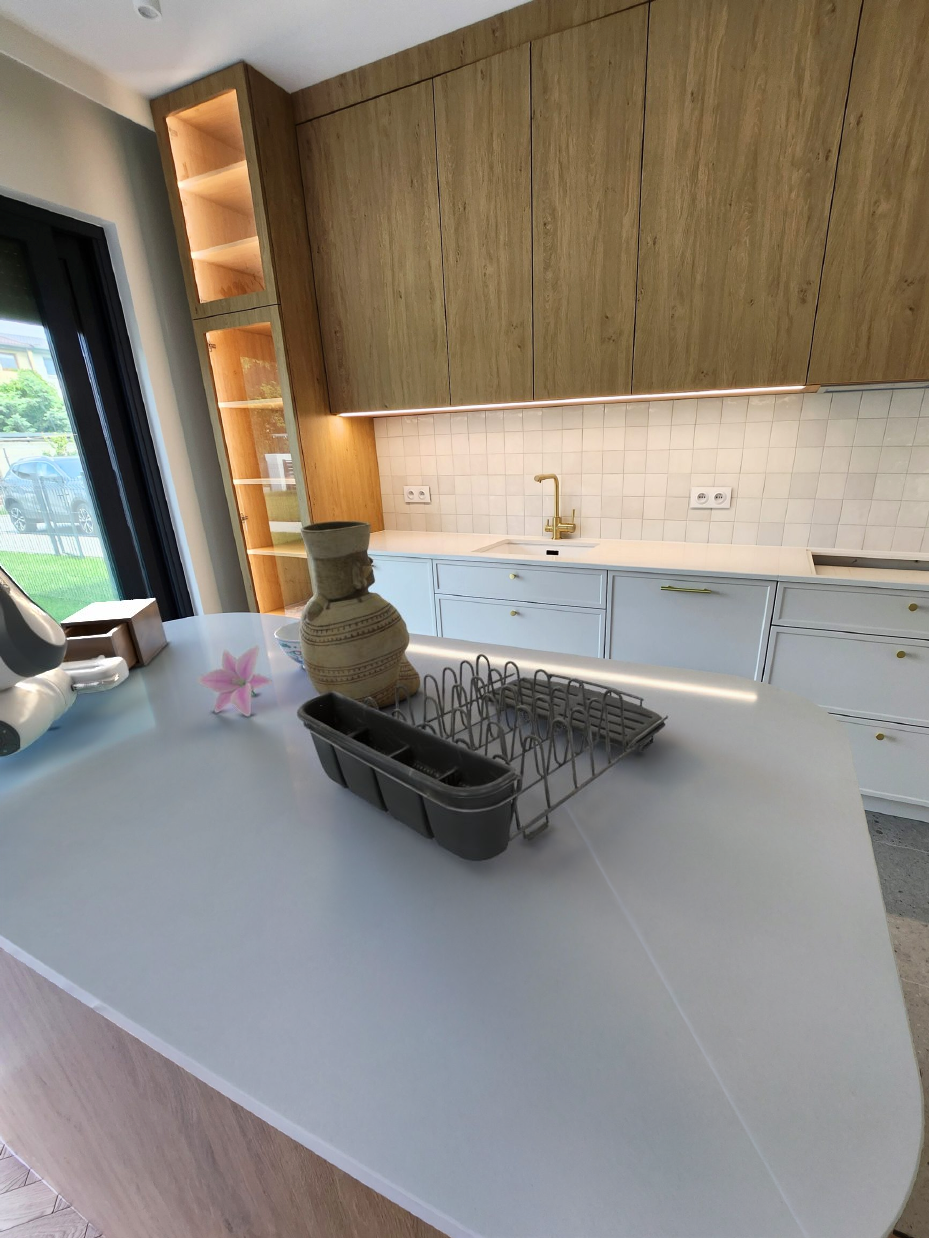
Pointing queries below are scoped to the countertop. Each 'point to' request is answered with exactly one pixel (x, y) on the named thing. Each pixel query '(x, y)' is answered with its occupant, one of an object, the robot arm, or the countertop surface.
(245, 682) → the lily
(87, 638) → the drawer
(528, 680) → the dish rack
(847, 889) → the countertop surface
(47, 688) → the robot arm
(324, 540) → the ceramic vessel
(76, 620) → the cabinet
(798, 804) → the countertop surface
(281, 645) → the chinaware
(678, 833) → the countertop surface
